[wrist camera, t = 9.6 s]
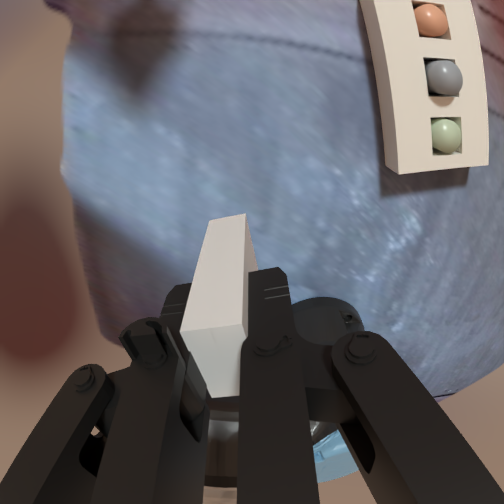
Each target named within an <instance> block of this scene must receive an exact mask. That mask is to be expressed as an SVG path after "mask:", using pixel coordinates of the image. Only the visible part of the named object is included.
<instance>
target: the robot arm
mask: <svg viewBox="0 0 504 504" xmlns="http://www.w3.org/2000/svg"><path fill="white" fill-rule="evenodd" d="M118 338H119V339H120V341H121V343H122V345H123V346H124V348H125V350H126V351H127V353H128V354H129V356H130V357H131V359H132V362H131V365H130V367H127V368H125V369H122V370H119V371H115V372H112V373H109V374H106V372H105V371H104V369H103V368H102V367H101V366H99V365H97V364H88V365H84V366H82V367H80V368H78V369H77V370H75V371H74V372H73V373H72V374H71V375H70V376H69V378H68V379H67V381H66V382H65V383H64V385H63V386H62V388H61V389H60V391H59V392H58V393H57V395H56V396H55V398H54V399H53V401H52V402H51V404H50V405H49V407H48V408H47V410H46V411H45V413H44V414H43V416H42V417H41V419H40V420H39V422H38V423H37V425H36V426H35V428H34V429H33V431H32V432H31V434H30V435H29V437H28V439H27V440H26V442H25V443H24V445H23V447H22V448H21V450H20V451H19V453H18V455H17V456H16V458H15V459H14V461H13V463H12V464H11V466H10V468H9V469H8V471H7V473H6V475H5V476H4V478H3V480H2V481H1V483H0V504H320V500H319V492H318V483H320V482H325V481H330V480H333V479H336V478H340V477H343V476H346V475H348V474H351V473H353V472H355V471H357V470H360V472H361V474H362V476H363V478H364V480H365V482H366V484H367V486H368V487H369V489H370V491H371V493H372V495H373V497H374V499H375V501H376V502H377V504H504V493H503V491H502V490H501V488H500V487H499V485H498V484H497V482H496V481H495V480H494V478H493V477H492V475H491V474H490V473H489V471H488V470H487V468H486V467H485V466H484V464H483V463H482V461H481V460H480V459H479V457H478V456H477V455H476V453H475V452H474V450H473V449H472V448H471V446H470V445H469V444H468V443H467V441H466V440H465V438H464V437H463V436H462V434H460V432H459V430H458V429H457V428H456V427H455V425H454V424H453V423H452V421H451V420H450V419H449V417H448V416H447V415H446V413H445V412H444V411H443V410H442V408H441V407H440V406H439V405H438V403H437V402H436V401H435V399H434V398H433V397H432V396H431V394H430V393H429V392H428V390H427V389H426V388H425V387H424V385H423V384H422V383H421V382H420V380H419V379H418V378H417V377H416V375H415V374H414V373H413V372H412V371H411V369H410V368H409V367H408V366H407V364H406V363H405V362H404V361H403V360H402V358H401V357H400V356H399V355H398V353H397V352H396V351H395V350H394V349H393V347H392V346H391V345H390V344H389V343H388V341H387V340H385V339H384V338H383V337H382V336H380V335H379V334H376V333H373V332H370V331H365V330H364V326H363V323H362V320H361V318H360V315H359V314H358V312H357V311H356V309H355V308H354V307H353V306H351V305H350V304H349V303H347V302H345V301H342V300H340V299H336V298H330V297H317V298H310V299H306V300H303V301H300V302H297V303H295V304H293V305H291V299H290V293H289V287H288V281H287V276H286V274H285V273H284V272H283V271H282V270H281V269H280V268H279V267H275V268H270V269H264V270H258V267H257V262H256V258H255V253H254V249H253V245H252V240H251V236H250V231H249V227H248V222H247V218H246V213H245V214H240V215H235V216H230V217H225V218H220V219H214V220H210V221H209V224H208V228H207V231H206V235H205V238H204V242H203V245H202V249H201V252H200V256H199V260H198V263H197V267H196V271H195V274H194V278H193V282H192V283H187V284H181V285H176V286H175V287H174V288H173V289H172V290H171V291H170V292H169V294H168V295H167V297H166V300H165V303H164V307H163V308H162V311H161V316H160V317H159V318H156V317H148V318H144V319H140V320H137V321H135V322H133V323H131V324H130V325H129V326H127V327H126V328H125V329H124V330H123V331H122V332H121V334H120V335H119V337H118ZM94 426H95V427H96V428H97V429H98V430H99V431H100V432H99V433H98V434H97V435H95V436H93V435H92V434H91V431H92V429H93V428H94Z"/></svg>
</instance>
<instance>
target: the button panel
mask: <svg viewBox="0 0 504 504" xmlns="http://www.w3.org/2000/svg"><path fill="white" fill-rule="evenodd" d="M360 4H361V8H362V12H363V17H364V21H365V25H366V30H367V34H368V39H369V44H370V49H371V54H372V60H373V65H374V71H375V77H376V84H377V90H378V98H379V105H380V113H381V122H382V131H383V141H384V153H385V166H387V167H388V168H390V169H391V170H393V171H394V172H396V173H397V174H407V173H415V172H424V171H433V170H442V169H451V168H461V167H472V166H483V165H488V153H489V137H488V109H487V95H486V84H485V75H484V67H483V60H482V53H481V47H480V42H479V36H478V31H477V26H476V22H475V17H474V13H473V9H472V5H471V1H470V0H360ZM424 4H432V5H434V6H436V7H438V8H439V9H440V10H441V11H442V12H443V13H444V15H445V17H446V19H447V23H448V28H447V31H446V32H445V33H444V34H443V35H441V36H435V37H434V38H426V37H419V33H418V28H417V23H416V19H415V14H414V10H413V8H416V7H419V6H422V5H424ZM423 59H426V60H438V61H443V60H448V61H451V62H453V63H454V64H456V65H457V66H458V68H459V69H460V71H461V73H462V77H463V85H462V88H461V90H460V92H459V93H457V94H455V95H446V94H442V95H428V88H427V80H426V73H425V66H424V60H423ZM430 117H444V119H448V120H451V121H454V122H455V123H456V124H457V125H458V126H459V128H460V131H461V143H460V145H459V147H458V148H457V150H456V151H454V152H452V153H444V152H442V151H440V150H437V149H435V148H432V132H431V118H430Z"/></svg>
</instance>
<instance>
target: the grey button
mask: <svg viewBox="0 0 504 504" xmlns="http://www.w3.org/2000/svg"><path fill="white" fill-rule="evenodd" d="M424 66H425V73H426V80H427V88H428V92H430V93H438V94H446V95H455V94H457V93H459V92H460V90H461V88H462V85H463V77H462V73H461V71H460V69H459V68H458V66H457V65H456V64H454V63H453V62H451V61H448V60H443V61H426V62H424Z"/></svg>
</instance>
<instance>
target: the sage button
mask: <svg viewBox="0 0 504 504" xmlns="http://www.w3.org/2000/svg"><path fill="white" fill-rule="evenodd" d="M430 118H431V132H432V147H433V148H435V149H437V150H440V151H442V152H444V153H452V152H454V151H456V150H457V148H458V147H459V145H460V143H461V131H460V128H459V126H458V125H457V124H456V123H455V122H454V121H451V120H448V119H444V118H440V117H430Z"/></svg>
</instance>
